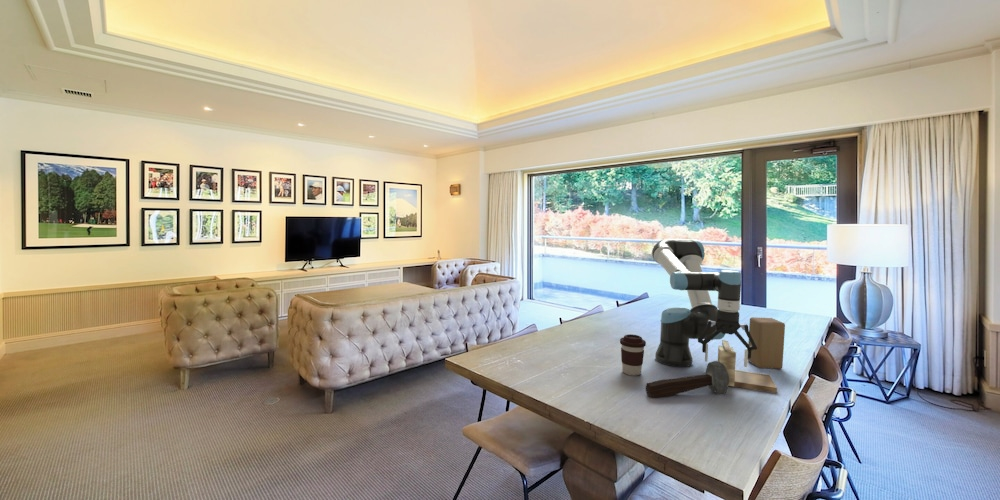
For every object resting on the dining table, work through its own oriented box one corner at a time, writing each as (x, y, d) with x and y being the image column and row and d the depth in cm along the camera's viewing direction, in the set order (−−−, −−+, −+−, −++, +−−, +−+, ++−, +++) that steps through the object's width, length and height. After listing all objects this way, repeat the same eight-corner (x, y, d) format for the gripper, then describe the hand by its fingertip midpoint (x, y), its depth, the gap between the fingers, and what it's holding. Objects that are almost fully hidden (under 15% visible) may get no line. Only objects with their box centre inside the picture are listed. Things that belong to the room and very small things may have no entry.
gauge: (718, 384, 152) (720, 349, 151) (716, 371, 165) (718, 339, 164) (734, 386, 150) (736, 351, 149) (730, 373, 163) (732, 341, 162)
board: (714, 383, 154) (714, 378, 154) (712, 371, 167) (712, 366, 167) (776, 393, 146) (776, 387, 146) (769, 379, 159) (769, 374, 158)
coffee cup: (648, 372, 165) (650, 336, 163) (638, 379, 157) (639, 341, 156) (625, 366, 171) (626, 331, 170) (614, 372, 164) (615, 336, 163)
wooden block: (770, 361, 180) (772, 317, 178) (783, 369, 170) (786, 323, 168) (746, 360, 181) (748, 316, 179) (758, 368, 171) (761, 322, 169)
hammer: (652, 409, 140) (730, 393, 144) (650, 378, 139) (728, 363, 143) (645, 403, 145) (720, 388, 149) (643, 373, 144) (718, 359, 148)
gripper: (692, 308, 159) (690, 361, 160) (767, 315, 148) (764, 371, 150) (692, 305, 166) (690, 355, 167) (764, 311, 155) (761, 365, 157)
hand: (725, 363), depth 159 cm, fingers open, 13 cm apart
